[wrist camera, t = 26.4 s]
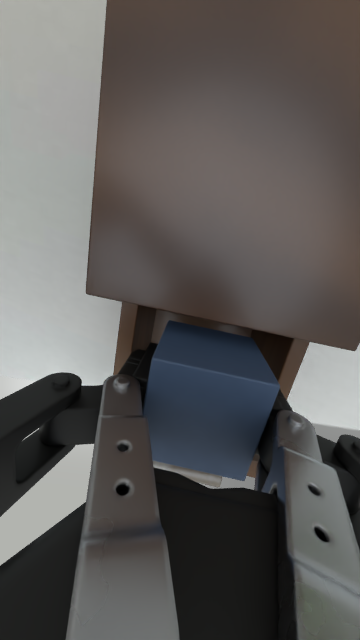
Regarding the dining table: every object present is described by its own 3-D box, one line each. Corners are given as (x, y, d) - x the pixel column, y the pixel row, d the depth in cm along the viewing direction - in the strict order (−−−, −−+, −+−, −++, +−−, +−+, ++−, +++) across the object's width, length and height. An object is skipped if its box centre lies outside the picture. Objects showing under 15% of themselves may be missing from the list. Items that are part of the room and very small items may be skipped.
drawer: (232, 437, 22) (247, 534, 15) (124, 413, 22) (86, 496, 15) (298, 238, 17) (377, 231, 9) (154, 209, 17) (117, 179, 9)
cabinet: (280, 301, 19) (356, 352, 10) (140, 272, 19) (84, 294, 10) (357, 74, 14) (628, -226, 5) (173, 39, 15) (127, -303, 6)
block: (154, 391, 13) (133, 457, 9) (168, 319, 12) (151, 357, 8) (230, 408, 13) (244, 482, 9) (253, 337, 12) (281, 386, 8)
